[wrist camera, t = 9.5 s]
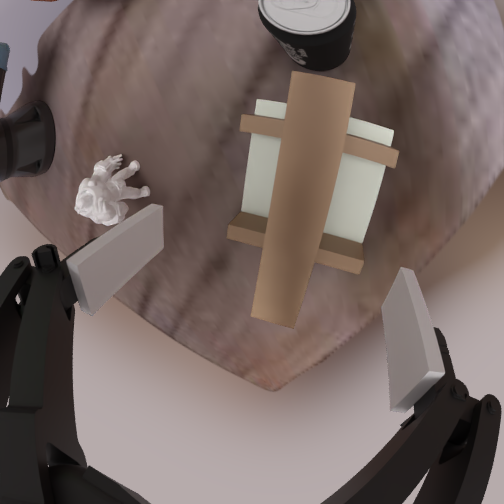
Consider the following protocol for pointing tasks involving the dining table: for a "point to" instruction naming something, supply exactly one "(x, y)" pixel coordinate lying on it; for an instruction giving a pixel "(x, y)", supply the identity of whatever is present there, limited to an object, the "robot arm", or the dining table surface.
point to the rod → (301, 192)
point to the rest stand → (345, 192)
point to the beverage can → (311, 29)
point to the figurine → (108, 192)
